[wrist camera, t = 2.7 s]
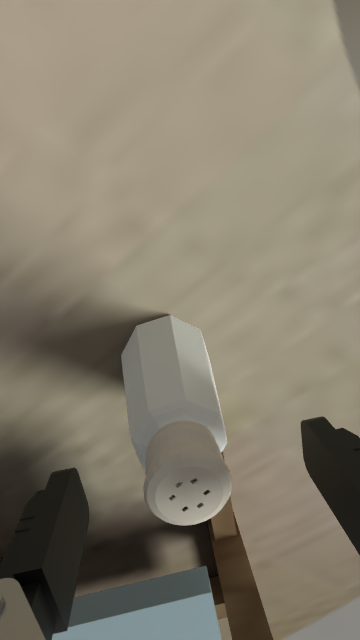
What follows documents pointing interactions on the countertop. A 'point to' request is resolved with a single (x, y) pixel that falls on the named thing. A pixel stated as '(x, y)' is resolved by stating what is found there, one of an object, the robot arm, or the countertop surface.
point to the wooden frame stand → (235, 580)
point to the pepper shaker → (176, 421)
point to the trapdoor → (147, 611)
